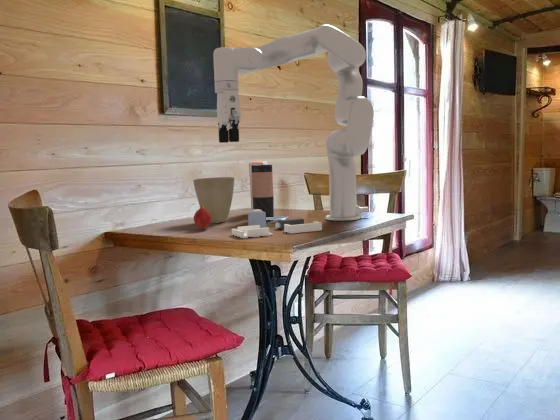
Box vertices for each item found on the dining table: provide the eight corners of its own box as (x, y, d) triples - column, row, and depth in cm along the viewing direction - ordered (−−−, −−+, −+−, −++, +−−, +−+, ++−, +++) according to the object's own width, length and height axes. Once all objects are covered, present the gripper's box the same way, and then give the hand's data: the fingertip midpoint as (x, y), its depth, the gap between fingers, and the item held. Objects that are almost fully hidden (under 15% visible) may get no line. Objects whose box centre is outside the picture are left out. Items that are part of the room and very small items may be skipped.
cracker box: (255, 212, 239) (253, 161, 237) (270, 211, 238) (268, 160, 236) (250, 216, 225) (248, 162, 223) (265, 215, 224) (263, 161, 222)
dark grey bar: (300, 227, 191) (299, 218, 190) (304, 228, 188) (304, 219, 188) (274, 229, 187) (274, 220, 187) (278, 230, 184) (278, 221, 184)
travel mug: (271, 221, 206) (269, 165, 204) (251, 221, 208) (248, 165, 206) (276, 218, 214) (274, 164, 212) (256, 218, 215) (254, 165, 213)
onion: (192, 229, 193) (191, 205, 192) (209, 227, 195) (207, 204, 194) (197, 231, 187) (195, 206, 186) (214, 229, 189) (212, 205, 189)
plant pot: (232, 218, 220) (230, 176, 218) (240, 222, 205) (238, 177, 204) (192, 221, 216) (190, 178, 214) (198, 225, 201) (195, 180, 200)
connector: (260, 229, 188) (259, 208, 187) (266, 230, 184) (265, 210, 183) (248, 230, 186) (247, 209, 186) (254, 232, 182) (253, 211, 181)
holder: (262, 232, 180) (261, 224, 180) (272, 235, 173) (272, 227, 173) (231, 235, 176) (231, 227, 176) (241, 238, 169) (241, 230, 169)
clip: (315, 228, 184) (315, 221, 184) (322, 230, 180) (321, 222, 180) (284, 231, 179) (284, 224, 179) (290, 233, 176) (289, 225, 175)
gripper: (247, 85, 177) (249, 141, 179) (228, 90, 193) (230, 142, 195) (224, 84, 174) (226, 141, 176) (207, 90, 190) (209, 143, 192)
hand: (228, 142), depth 186 cm, fingers open, 9 cm apart
